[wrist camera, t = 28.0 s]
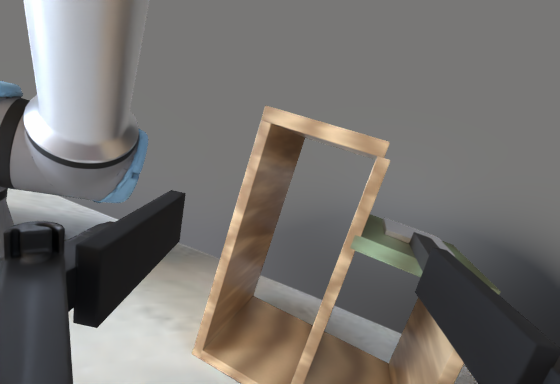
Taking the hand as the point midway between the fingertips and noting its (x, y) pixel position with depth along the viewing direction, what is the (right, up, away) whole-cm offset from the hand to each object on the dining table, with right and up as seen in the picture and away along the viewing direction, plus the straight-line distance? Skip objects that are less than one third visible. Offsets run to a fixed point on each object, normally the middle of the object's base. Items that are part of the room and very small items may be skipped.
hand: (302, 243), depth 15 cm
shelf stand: (+2, -20, +23) cm, 31 cm away
